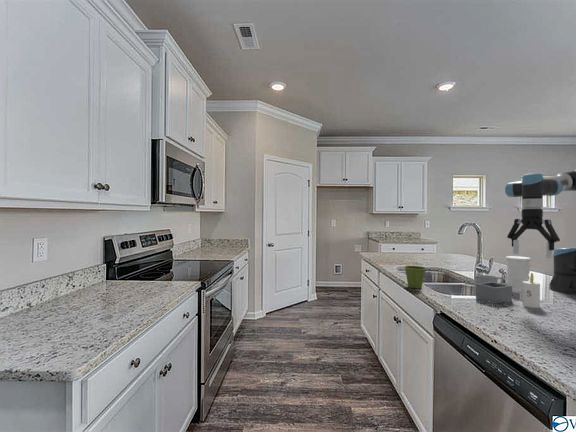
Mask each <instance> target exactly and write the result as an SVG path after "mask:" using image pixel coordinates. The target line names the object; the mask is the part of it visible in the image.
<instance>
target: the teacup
mask: <svg viewBox="0 0 576 432" xmlns="http://www.w3.org/2000/svg"><path fill="white" fill-rule="evenodd" d="M473 278H474V286H475V287H476V284H478V283H486V282H495V283H498V280H499V279H500V282H499V283H500V284H504V281H505V280H504V278H503V277H502V276H495V275H488V274H487V275H486V274H478V275H477V274H476V275H474V277H473Z"/></svg>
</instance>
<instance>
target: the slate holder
mask: <svg viewBox="0 0 576 432" xmlns="http://www.w3.org/2000/svg"><path fill="white" fill-rule="evenodd" d="M476 298H477V299H476ZM475 299H476V300H479V299H480V300H479V301H483V300H485V301H484V302H487V301H490V302H493V303H492V304H494V303H500V304H503V303H502V302H506V303H510V302H509V301H512V302H513V292H512V286H509V285H507V284H504V283H502V284H500V282H497V283H495V282H486V283H478V284H476V286H475ZM490 302H489V303H490Z"/></svg>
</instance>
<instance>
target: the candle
mask: <svg viewBox="0 0 576 432" xmlns="http://www.w3.org/2000/svg"><path fill="white" fill-rule="evenodd" d="M529 277H530V279H529V281H523V282H522V294H521V295H522V296H521V297H522V298H521V300H522V301H521V302H522V304H521V305H522V306H523V307H527V308H532V309H539V308H541V283H540V282H537V281H534V280H535V279H534V274H533V272H530V276H529Z"/></svg>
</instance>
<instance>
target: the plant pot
mask: <svg viewBox="0 0 576 432" xmlns="http://www.w3.org/2000/svg"><path fill="white" fill-rule="evenodd" d="M403 267H404V270H405V271H404V272H405V274H406V279H407V280H406V281H407V287H408V288H411V289H414V288H415V289H416V290H417V289H421V288H423V283H424V277H425V274H426V270H427V267H424V266H421V265H420V266H418V265H404V266H403Z"/></svg>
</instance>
